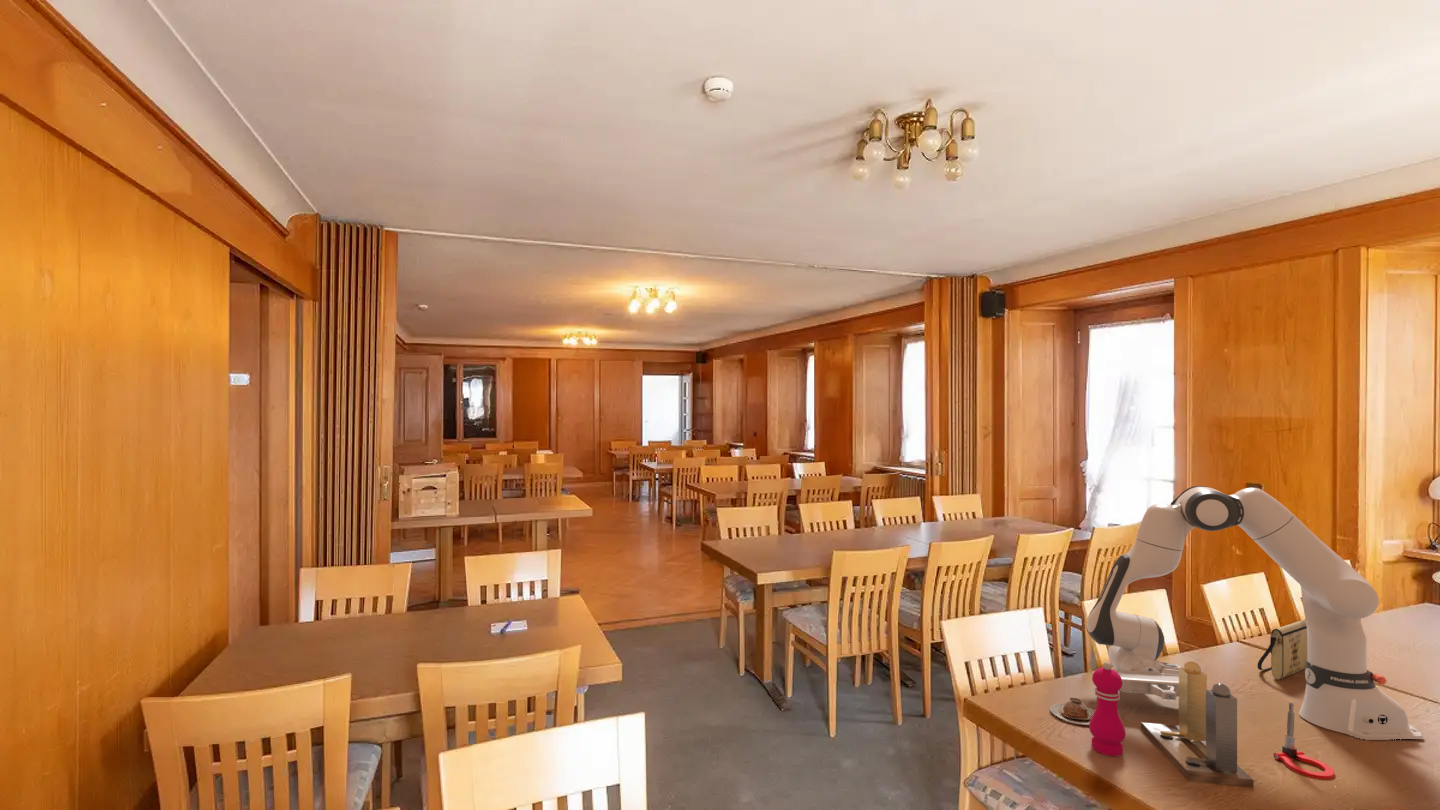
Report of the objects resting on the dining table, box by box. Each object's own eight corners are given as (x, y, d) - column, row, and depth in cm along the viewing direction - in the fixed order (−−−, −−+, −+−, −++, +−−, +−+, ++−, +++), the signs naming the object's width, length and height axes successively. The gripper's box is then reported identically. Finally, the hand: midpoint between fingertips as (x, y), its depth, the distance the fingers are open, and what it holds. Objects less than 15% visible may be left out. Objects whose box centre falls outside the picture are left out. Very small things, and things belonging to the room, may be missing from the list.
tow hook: (1345, 780, 143) (1302, 755, 152) (1347, 720, 143) (1304, 699, 152) (1310, 782, 142) (1269, 758, 151) (1313, 722, 142) (1271, 702, 151)
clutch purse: (1295, 657, 214) (1295, 610, 214) (1323, 665, 208) (1323, 616, 208) (1250, 675, 199) (1250, 624, 200) (1279, 683, 193) (1279, 631, 193)
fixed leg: (1226, 762, 146) (1226, 680, 146) (1237, 772, 142) (1237, 688, 142) (1183, 758, 147) (1182, 677, 147) (1192, 768, 143) (1192, 685, 143)
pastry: (1049, 704, 180) (1049, 686, 180) (1101, 713, 175) (1101, 695, 175) (1050, 722, 169) (1050, 704, 169) (1105, 732, 164) (1105, 713, 164)
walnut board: (1194, 732, 163) (1194, 726, 163) (1253, 787, 139) (1253, 779, 139) (1140, 728, 165) (1140, 722, 165) (1189, 780, 142) (1189, 773, 142)
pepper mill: (1130, 759, 150) (1130, 669, 151) (1095, 755, 152) (1095, 666, 152) (1118, 743, 157) (1118, 657, 158) (1084, 740, 159) (1084, 655, 159)
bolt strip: (1181, 727, 163) (1181, 725, 163) (1233, 775, 141) (1233, 773, 141) (1141, 723, 164) (1141, 722, 164) (1186, 771, 143) (1186, 769, 143)
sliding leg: (1197, 733, 158) (1197, 659, 158) (1206, 742, 154) (1206, 665, 154) (1157, 730, 159) (1157, 656, 159) (1165, 738, 155) (1165, 662, 155)
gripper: (1103, 660, 182) (1124, 680, 169) (1186, 665, 179) (1215, 686, 165) (1102, 683, 182) (1124, 705, 169) (1186, 689, 179) (1214, 712, 165)
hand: (1169, 696), depth 167 cm, fingers closed
